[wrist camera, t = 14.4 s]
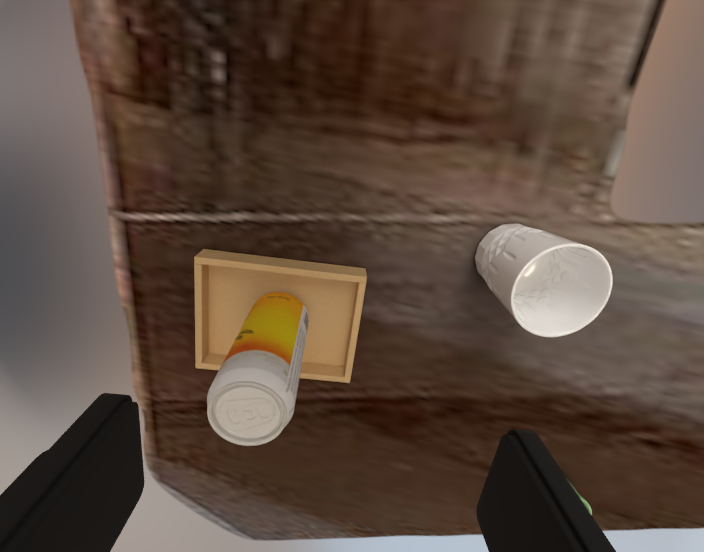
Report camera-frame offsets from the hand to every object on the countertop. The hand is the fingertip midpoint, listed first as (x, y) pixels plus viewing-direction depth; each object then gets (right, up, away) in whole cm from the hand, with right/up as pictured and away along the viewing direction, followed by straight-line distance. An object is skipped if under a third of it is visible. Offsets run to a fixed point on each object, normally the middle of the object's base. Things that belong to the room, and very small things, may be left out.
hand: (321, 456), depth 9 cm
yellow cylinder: (-7, +1, +29) cm, 30 cm away
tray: (-7, +1, +30) cm, 31 cm away
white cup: (+17, +7, +28) cm, 34 cm away
